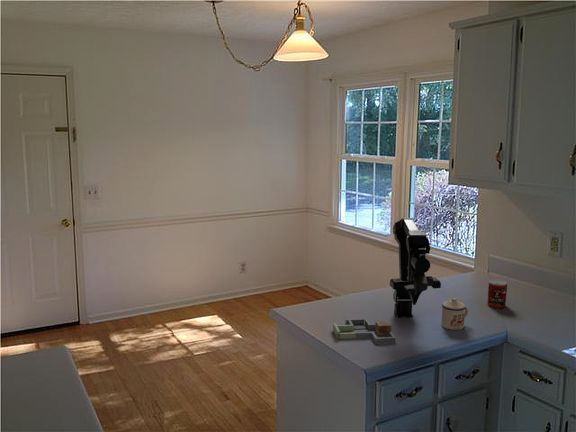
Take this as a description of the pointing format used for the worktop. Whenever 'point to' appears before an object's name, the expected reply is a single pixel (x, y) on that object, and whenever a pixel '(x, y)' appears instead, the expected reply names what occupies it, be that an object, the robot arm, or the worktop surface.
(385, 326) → the walnut block
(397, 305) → the robot arm
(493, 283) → the canned food
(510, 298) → the worktop surface
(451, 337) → the worktop surface
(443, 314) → the teacup with lid
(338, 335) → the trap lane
